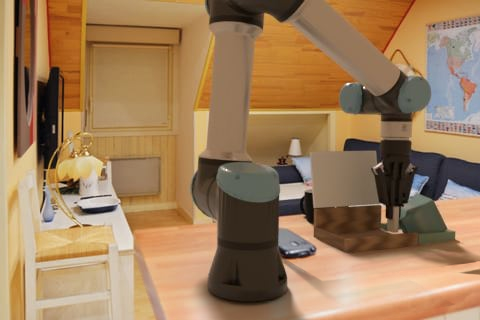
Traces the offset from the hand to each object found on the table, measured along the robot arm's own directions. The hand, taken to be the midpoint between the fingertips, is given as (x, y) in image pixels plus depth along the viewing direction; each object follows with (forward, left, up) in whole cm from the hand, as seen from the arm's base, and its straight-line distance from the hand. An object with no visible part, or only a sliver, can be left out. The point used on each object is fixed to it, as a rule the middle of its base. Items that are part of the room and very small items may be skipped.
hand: (392, 231), depth 118 cm
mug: (-10, +21, -2) cm, 24 cm away
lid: (-9, +7, +6) cm, 13 cm away
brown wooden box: (-9, 0, -2) cm, 9 cm away
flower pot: (+3, 0, +1) cm, 3 cm away
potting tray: (+7, 0, -2) cm, 7 cm away
